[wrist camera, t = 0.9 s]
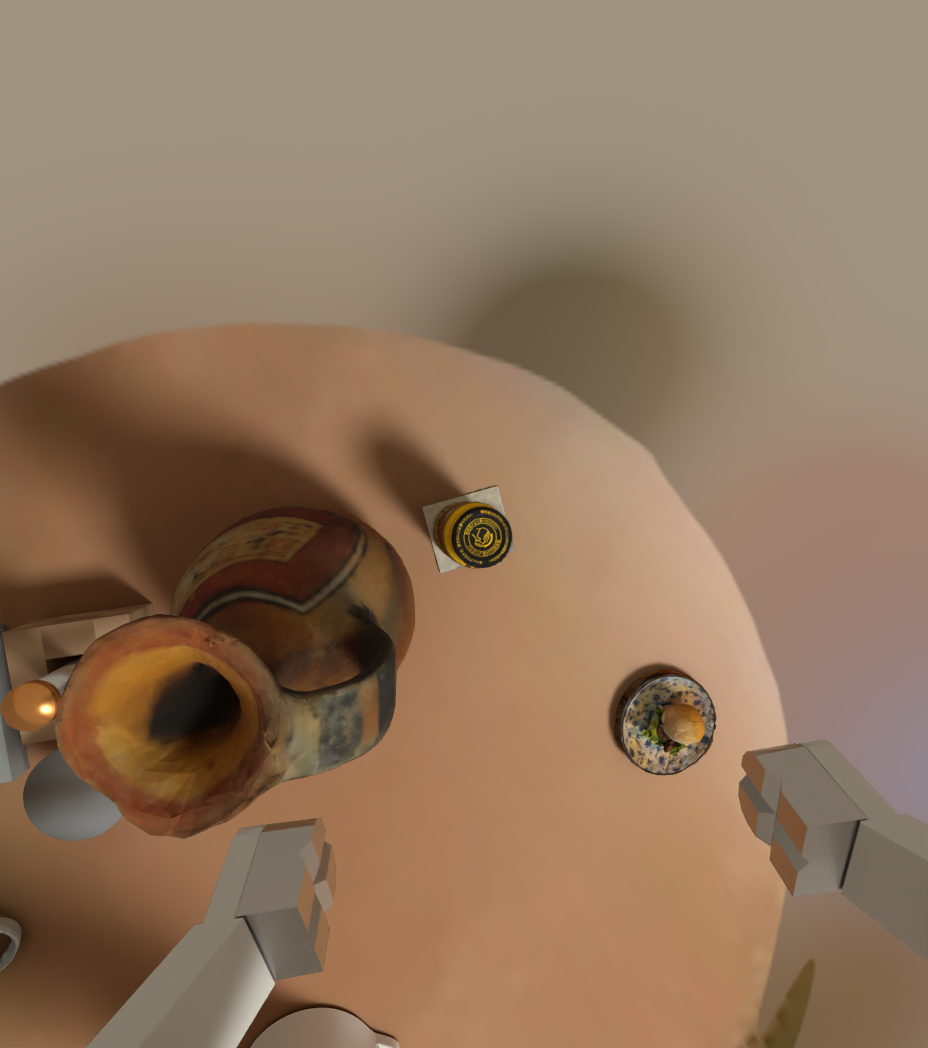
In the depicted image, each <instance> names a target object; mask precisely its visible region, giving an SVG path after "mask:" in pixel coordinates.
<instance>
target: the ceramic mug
mask: <svg viewBox="0 0 928 1048" xmlns="http://www.w3.org/2000/svg"><path fill="white" fill-rule="evenodd" d="M0 933H4V934H6V935H8V936H10V938H11V939H12V941H11V943H10V945H9V947H8V948H7V950H6V951H4V952H3V955H2V957H1V958H0V971H2V970H3V969H4V968H5V967H6V966H8V964H9V963H10V962H11V961H12V960H13V958H14V956H15V955H16V953H17V951H18V949H19V945H20V940H21V935H22V931H21V927H20V925H19V924H18V923H17V922H16V921H15V920H13V919H11V918H8V917H0Z"/></svg>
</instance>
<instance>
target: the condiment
mask: <svg viewBox="0 0 928 1048" xmlns="http://www.w3.org/2000/svg"><path fill="white" fill-rule="evenodd" d="M422 509H423V513H424V516H425V520H426V524H427V527H428V531H429V534H430V538H431V541H432V545H433V548H434V552H435V555H436V559H437V562H438V566H439V569H440V573H444V572H447V571H450V570H453V569H457V568H460V567H463V566H465V567H468V568H472V569H473V568H486V567H491V566H493V565H496V564H497V563H498V562H501V561H502V560H503V559H504V558H505V557H506V555H507V553H510V552H514V551H515V547H514V544H513V541H512V531H511V527H510V524H509V522H508V521H507V519H506V515H505V512H504V508H503V504H502V500H501V497H500V493H499V489H498V486H496V487H492V488H488V489H485V490H481V491H478V492H474V493H471V494H467V495H464V496H460V497H456V498H453V499H449V500H446V501H442V502H439V503H435V504H432V505H428V506H425V507H422Z"/></svg>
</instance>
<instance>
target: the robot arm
mask: <svg viewBox="0 0 928 1048" xmlns="http://www.w3.org/2000/svg"><path fill="white" fill-rule="evenodd" d="M741 766H742V768H743V769H744V771H745V772H746V774H747V775H746V776H745V777H744V778H743V779H742V780H741V781H740V782H739V793H738V796H739V800H740V805H741V809H742V812H743V814H744V817H745V819H746V821H747V823H748V825H749V827H750V828H751V830H752V832H753V833H754V835H755V836H756V837H757V838H759V839H760V840H762V841H763V842H765V843H766V844H768V845H769V846H771V849H770V861H771V863H772V864H773V866H774V867H775V869H776V871H777V872H778V874H779V875H780V877H781V879H782V880H783V882H784V883H785V885H786V887H787V888H788V890H789V891H790V893H791V895H792V896H793V897H797V896H805V895H813V894H821V893H829V892H837V891H842V893H841V894H842V895H843V896H845V897H846V898H847V899H848V900H850V901H851V902H852V903H854V904H855V905H856V906H858V907H859V908H860V909H861V910H862V911H864V912H865V913H866V914H868V915H869V916H870V917H871V918H873V919H874V920H875V921H877V922H878V923H879V924H880V925H882V926H883V927H884V928H886V929H887V930H888V931H890V932H891V933H892V934H893V935H894V936H896V937H897V938H899V940H901V941H902V942H903V943H905V944H906V945H907V946H908V947H910V948H911V949H912V950H913V951H915V952H916V953H918V954H919V955H920V956H921V957H922V958H924V959H925V960H926V961H928V825H927V824H925V823H923V822H921V821H919V820H917V819H916V818H914V817H912V816H910V815H908V814H904V815H898V814H897V812H896V811H895V810H894V809H893V808H892V807H891V806H890V805H889V804H888V803H887V802H886V801H885V800H884V798H883V797H882V796H880V794H879V793H878V792H877V791H876V790H875V789H874V788H873V787H872V786H871V784H870V783H869V782H868V781H867V780H866V779H865V778H864V777H863V776H862V775H861V774H860V773H859V772H858V770H857V769H856V768H855V767H854V766H853V765H852V764H851V763H850V762H849V761H848V760H847V759H846V758H845V756H844V755H843V754H842V753H841V752H840V751H839V750H838V749H837V748H836V747H835V746H834V745H833V744H832V743H831V742H829V741H827V740H818V741H811V742H805V743H799V744H795V743H794V744H788V745H782V746H776V747H770V748H764V749H758V750H752V751H747V752H746V753H745V754H744V755H743V758H742V765H741ZM325 832H326V828H325V826H324V823H323V821H322V818H316V819H308V820H299V821H291V822H283V823H275V824H267V825H260V826H253V827H246V828H239V830H238V831H237V833H236V834H235V836H234V837H233V839H232V842H231V844H230V847H229V850H228V853H227V856H226V859H225V861H224V864H223V867H222V870H221V873H220V876H219V879H218V881H217V884H216V887H215V890H214V893H213V896H212V898H211V901H210V904H209V907H208V910H207V913H206V916H205V918H204V921H203V923H202V924H197V925H194V926H193V927H192V928H191V929H190V930H189V932H188V933H187V934H186V935H185V936H184V937H183V938H182V939H181V941H180V942H179V943H178V944H177V945H176V946H175V947H174V949H173V950H172V951H171V952H170V953H169V954H168V955H167V956H166V958H165V959H164V960H163V961H162V962H161V963H160V964H159V965H158V967H157V968H156V969H155V970H154V971H153V972H152V973H151V975H150V976H149V977H148V978H147V979H146V980H145V981H144V982H143V984H142V985H141V986H140V987H139V988H138V989H137V990H136V991H135V993H134V994H133V995H132V996H131V997H130V998H129V999H128V1000H127V1002H126V1003H125V1004H124V1005H123V1006H122V1007H121V1008H120V1010H119V1011H118V1012H117V1013H116V1014H115V1015H114V1016H113V1017H112V1019H111V1020H110V1021H109V1022H108V1023H107V1024H106V1025H105V1026H104V1028H103V1029H102V1030H101V1031H100V1032H99V1033H98V1034H97V1036H96V1037H95V1038H94V1039H93V1040H92V1041H91V1042H90V1043H89V1045H88V1046H87V1047H86V1048H237V1046H238V1044H239V1043H240V1041H241V1039H242V1038H243V1036H244V1034H245V1033H246V1031H247V1030H248V1028H249V1026H250V1025H251V1023H252V1021H253V1020H254V1018H255V1016H256V1015H257V1013H258V1011H259V1010H260V1008H261V1006H262V1005H263V1003H264V1002H265V1000H266V998H267V997H268V995H269V993H270V992H271V990H272V988H273V987H274V985H275V982H274V980H280V979H285V978H290V977H295V976H301V975H306V974H311V973H316V972H322V971H324V964H325V958H326V951H327V944H328V938H329V931H330V927H329V925H328V922H327V919H326V916H325V913H326V912H327V910H328V909H329V908H330V906H331V905H332V903H333V902H334V896H335V888H336V862H335V856H334V852H333V849H332V846H331V845H330V844H328V843H327V842H325V841H324V838H325ZM250 1048H400V1046H399V1043H398V1042H397V1041H396V1040H395V1039H393V1038H391V1037H388V1036H385V1035H382V1034H378V1033H375V1032H373V1031H372V1030H371V1029H369V1028H368V1027H367V1026H366V1025H365V1024H364V1023H363V1022H362V1021H360V1020H359V1019H358V1018H356V1017H355V1016H353V1015H351V1014H349V1013H347V1012H344V1011H341V1010H337V1009H332V1008H311V1009H306V1010H301V1011H298V1012H295V1013H292V1014H290V1015H288V1016H285V1017H283V1018H282V1019H280V1020H278V1021H276V1022H275V1023H274V1024H272V1025H271V1026H269V1027H268V1028H267V1029H266V1030H265V1031H264V1032H263V1033H262V1034H261V1035H260V1036H259V1037H258V1038H257V1039H256V1040H255V1041H254V1043H253V1044H252V1046H251V1047H250Z"/></svg>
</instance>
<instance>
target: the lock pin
mask: <svg viewBox="0 0 928 1048" xmlns="http://www.w3.org/2000/svg"><path fill="white" fill-rule="evenodd" d="M80 659H81V657H80V658H78V659H76V660H74V661H72V662H70V663H68V664H67V665H65V666H63V667H61V668H59V669H57V670H55V671H54V672H52V673H50V674H48V675H46V676H44V677H42V678H40V679H39V680H31V681H27V682H25V683H23V684H21V685H19V686H17V687H15V688H13V689H12V690H10V691H9V692H8V693H7V694H6V695H5V697H4V699H3V701H2V704H1V713H2V717H3V719H4V720H5V722H6V723H7V724H8V725H9V726H11V727H12V728H14V729H16V730H19V731H35V730H38V729H40V728H42V727H44V726H45V725H47V724H48V723H49V722H51V721H52V720H54V719H55V718H56V717H57V711H58V704H59V701H60V698H61V696H62V693H63V691H64V688H65V685H66V683H67V681H68V679H69V677H70V675H71V673H72V671H73V669H74V668H75V666H76V664H77V663H78V661H79V660H80Z"/></svg>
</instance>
